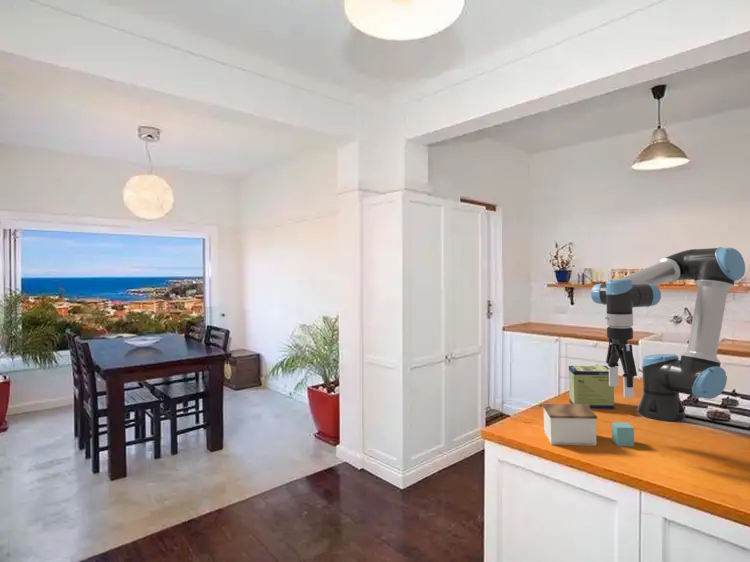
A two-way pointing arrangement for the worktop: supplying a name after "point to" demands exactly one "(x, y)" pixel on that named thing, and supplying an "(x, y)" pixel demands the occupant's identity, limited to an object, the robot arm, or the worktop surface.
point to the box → (570, 430)
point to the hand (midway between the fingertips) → (620, 391)
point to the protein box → (591, 386)
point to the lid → (569, 411)
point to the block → (622, 434)
